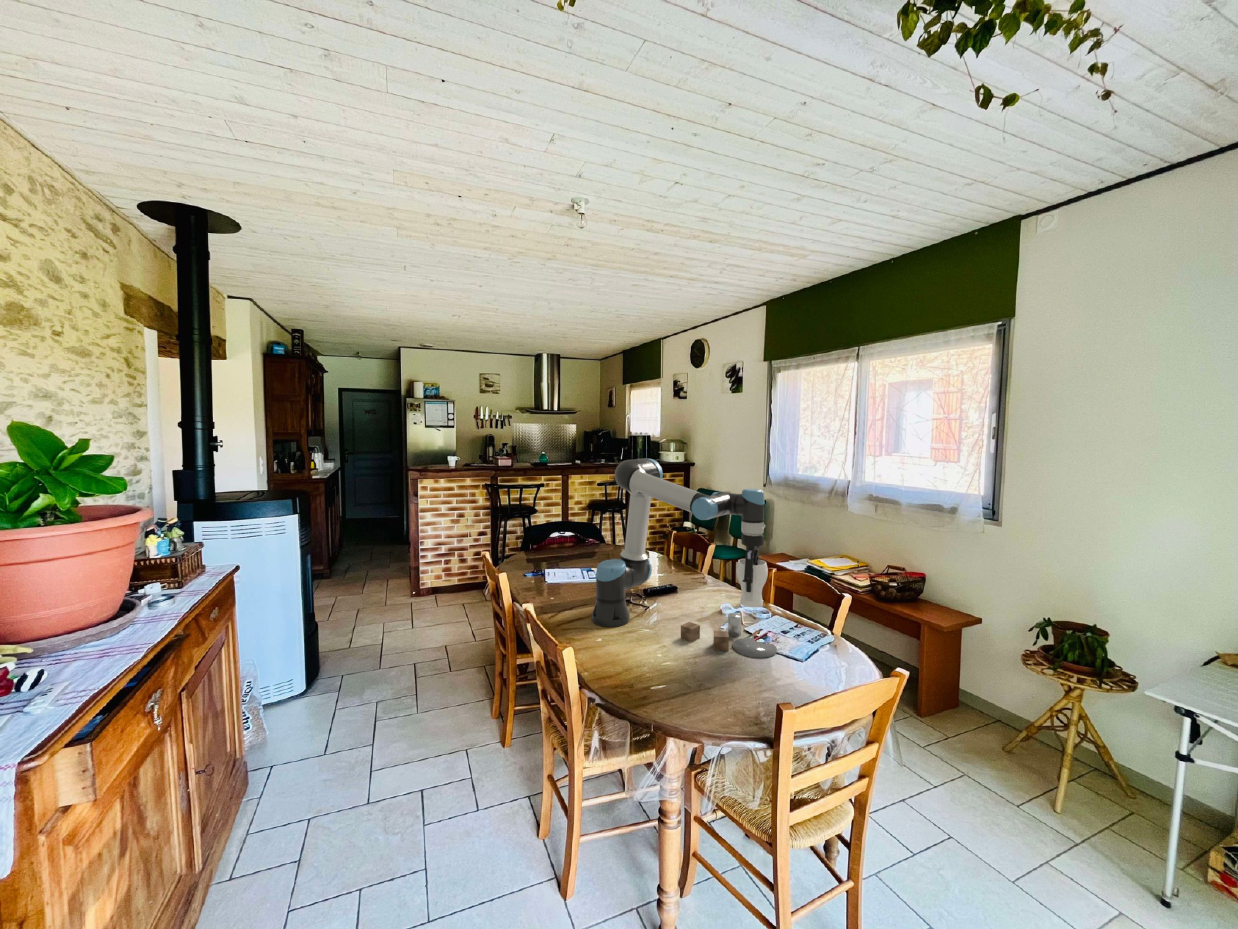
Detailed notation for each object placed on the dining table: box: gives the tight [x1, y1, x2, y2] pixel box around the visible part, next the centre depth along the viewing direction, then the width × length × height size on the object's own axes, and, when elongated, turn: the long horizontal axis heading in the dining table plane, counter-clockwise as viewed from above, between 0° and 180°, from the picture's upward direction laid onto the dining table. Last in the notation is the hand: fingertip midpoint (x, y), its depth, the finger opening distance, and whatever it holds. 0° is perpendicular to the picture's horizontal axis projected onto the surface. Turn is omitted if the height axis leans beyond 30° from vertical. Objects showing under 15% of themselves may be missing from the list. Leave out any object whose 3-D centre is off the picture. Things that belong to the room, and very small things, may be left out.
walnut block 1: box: [680, 621, 701, 643], centre depth 188 cm, size 5×5×5 cm
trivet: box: [732, 637, 778, 659], centre depth 179 cm, size 15×15×1 cm
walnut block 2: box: [713, 630, 730, 652], centre depth 180 cm, size 5×5×5 cm
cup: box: [735, 558, 769, 608], centre depth 179 cm, size 11×11×15 cm
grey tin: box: [727, 612, 742, 637], centre depth 192 cm, size 5×5×7 cm
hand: (751, 595), depth 179 cm, fingers closed on cup, 10 cm apart
